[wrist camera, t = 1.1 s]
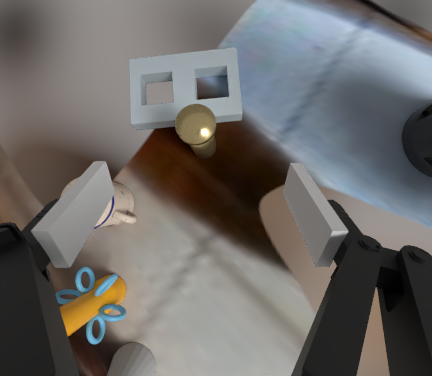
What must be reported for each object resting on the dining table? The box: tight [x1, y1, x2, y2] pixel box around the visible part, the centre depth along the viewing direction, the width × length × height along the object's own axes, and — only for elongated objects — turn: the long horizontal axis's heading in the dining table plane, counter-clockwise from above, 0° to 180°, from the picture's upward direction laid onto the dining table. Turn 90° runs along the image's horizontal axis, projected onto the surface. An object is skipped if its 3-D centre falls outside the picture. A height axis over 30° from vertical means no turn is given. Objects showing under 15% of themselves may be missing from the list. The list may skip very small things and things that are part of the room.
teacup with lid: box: [60, 177, 137, 229], centre depth 39 cm, size 12×9×12 cm
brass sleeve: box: [175, 104, 216, 159], centre depth 39 cm, size 6×6×12 cm
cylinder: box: [56, 267, 126, 344], centre depth 35 cm, size 12×10×15 cm
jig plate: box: [129, 47, 242, 130], centre depth 45 cm, size 22×14×3 cm, turn 94°
